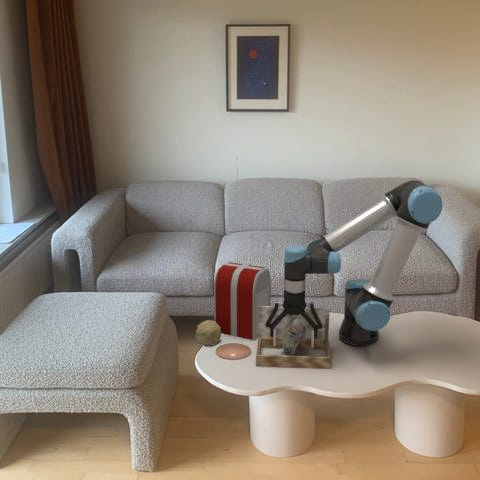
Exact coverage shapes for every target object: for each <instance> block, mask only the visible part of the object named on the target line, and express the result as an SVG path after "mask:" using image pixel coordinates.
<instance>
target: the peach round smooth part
mask: <svg viewBox="0 0 480 480" xmlns="http://www.w3.org/2000/svg"><path fill="white" fill-rule="evenodd" d="M215 354H216V356H217V357H219V358H221V359H225V360H230V361H232V360H234V361H236V360H242V359H243V360H244V359H246V358H248V357H249V356H250V355H251V354H252V349H251V348H250V346H248V345H246V344H243V343H238V342H236V343H235V342H229V343H225V344H222V345H219V346H217V347H216V349H215Z"/></svg>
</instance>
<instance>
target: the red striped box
mask: <svg viewBox="0 0 480 480" xmlns="http://www.w3.org/2000/svg"><path fill="white" fill-rule="evenodd" d="M271 278H272V277H271V272H270V269H269V268H268V267H265V266H258V265H252V264H249V263H248V264H247V263H244V264H243V263H238V262H229V261H228V262H225V263H223V264H222V265H221V266H220V267H218V268H217V270H216V272H215V275H214V281H213V300H214V301H213V302H214V303H213V306H214V307H213V308H214V309H213V313H214V317H213V319H214V320H213V321H215V322H216V323H217V324H218V325H219V326H220V328H221V335H226V336H231V337H234V338H235V337H236V338H241V339H244V340H250V341H256V340H258V337H259V306H271V307H272V305H271V304H272V303H271V297H272V296H271V295H272V292H271V291H272V289H271V288H272V284H271V283H272V279H271Z"/></svg>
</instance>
